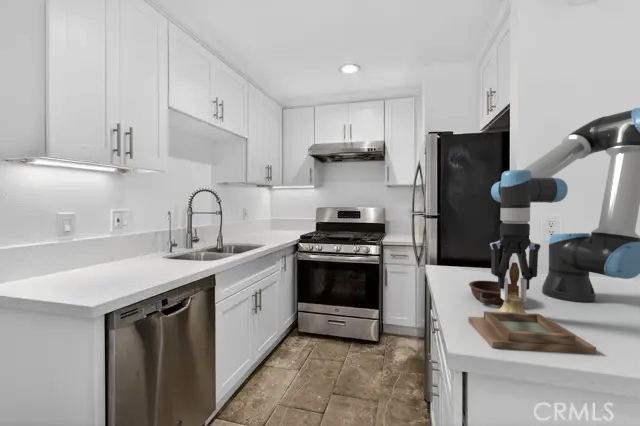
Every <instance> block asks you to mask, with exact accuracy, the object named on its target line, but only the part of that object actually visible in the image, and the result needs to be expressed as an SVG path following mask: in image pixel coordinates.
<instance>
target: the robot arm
mask: <svg viewBox="0 0 640 426" xmlns="http://www.w3.org/2000/svg"><path fill="white" fill-rule="evenodd" d="M604 151H605V153H606V154H607V155H609V156H610V160H609V164H608V171H607V178H606V183H605V188H604V193H603V199H602V204H601V211H600V216H599V222H598V227H597V228H594V230H592V231H591V233H589V232H588V233H587V232H586V233H585V232H578V233H576V232H575V233H574V232H573V233H554V234H552V235H550V237H549V242H548V270H547V271H548V273H547V276H546V277H545V280H544V282H543V284H542V289H541V290H542V294H544V295H545V296H548V297H551V298H554V299H558V300H562V301H567V302H568V301H570V302H576V303H577V302H579V303H589V302H590V303H592V302H594V301H596V292H595V290H594V287H593V285H592V282H591V280H590V279H591V278H590V273H592V274H597V275H602V276H606V277H609V278H612V279H613V278H614V279H615V278H618V279H624V280H630V279H633V278H636V277H638V276H639V275H640V235H639V234H638V233H637V232H636V227H637V223H638V222H637V221H638V216H639V210H640V107H636V108H633V109H629V110H626V111H623V112H619V113H614V114H610V115H606V116H605V115H604V116H601V117H598V118H596V119H593V120H592V121H590V122H587V123H585V124H584V125H582V126H580V127H579V128H577V129H576V130H575V131H574V130H573V132H571V133H570V134H568V135H566V136H565V137H564V138H563V139H562V141H561V143H560V144H558V145H557V146H555V147H554V148H553V149H551V150H550V151H548V152H547V153H546V154H544V155H542V156H541V157H540V158H538V159H536V160H534V161H533V162H532V163H531V164H529V165H528V166H526V167H525V168H523V169H515V170H514V169H513V170H506V171H504V172H503V171H502V173H501V180H500V181H497V182H495V183H493V185H492V186H491V190H490V194H491V198H492V199H493V200H494V201H496V202H498V203H500V219H499V220H500V221H501V222H500V224H499V233H500V234H499V236H500V237H499V239H498V241H495V242H489V248H490V250H491V251H490V253H491V254H490V255H491V256H490V258H491V260H490V261H491V262H490V265H491V266H490V267H491V268H490V269H491V271H490V272H491V274H492V275H493V276H495V277H497V282H498V287H499V288H500V289H501V298H502V299H503V300H505V301H508V283H509V279H508V278H507V277H506V276H507V272H508V268H509V264H510V261H511V258H512V256H513V254H515V255H516V256H517V258H518V263H519V270H520V272H521V276H519V279H518V286H519V297H520V298H521V299H522V302H527V290H530V281H532V279H533V278H537V276H538V264H539V262H538V261H539V251H540V249H541V244H539V243H534V242H532V241H531V239H530V235H531V233H530V232H531V231H530V229H531V224H530V223H529V222H530V221H531V203H549V204H550V203H558V202H561V201H563V200H564V199H565V198H566V197H567V195H568V189H569V188H568V184H567V182H566V181H565V180H563V179H562V178H559V177H558V178H557V177H556V178H555V177H554V176H555V175H556V174H558V173H559V172H561V171H562V170H563V169H566V167H568V166H570V165H571V164H573V163H574V162H575V161H577V160H580V159H581V160H582V159H584V158H586V157H588V156H589V155H592V154H595V153H598V152H604ZM500 247H501V248H502V253H501V254H502V255H501V260H500V250H499V249H500ZM528 248H529V252H528V259H527V251H526V250H527V249H528Z"/></svg>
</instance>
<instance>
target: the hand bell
mask: <svg viewBox="0 0 640 426" xmlns="http://www.w3.org/2000/svg"><path fill="white" fill-rule="evenodd" d="M509 268H510V269H509V271H508V272H509V273H508V274H509V281H510V284H511V290H510V295H508V301H505V300H504V303H503V305H501V307H500V308H499V309H497V311H496V312H510V313H527V312H526V310H525V309H524V306H523V305H524V304H523V301H522V299H521V298H520V297H518V296H517V286H518V283H519V277H520V267H519V266H518V262H512V263H511V265H510V267H509Z"/></svg>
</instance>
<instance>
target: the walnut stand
mask: <svg viewBox="0 0 640 426" xmlns="http://www.w3.org/2000/svg"><path fill="white" fill-rule="evenodd" d="M467 320H468V323H469V325H471V327H472V328H473V329H474V330H475V331H476V332H477V333H478V334H479V335H480V336H481V337H482V338H483V339H484V341H485V342H486V343H487V344H488V345H489V347H491V348H492V349H502V350H503V349H506V350H519V351H520V350H523V351H524V350H525V351H539V352H556V353H570V354H571V353H572V354H587V353H588V354H589V355H596V354H597V347H596V346H594V345H593V344H591V343H590V342H588V341H586V340H585V339H583V338H581V337H580V336H578V335H577V334H575V333H574V332H571V330H568V329H566V328H565V327H564V326H561V325H560V324H558V323H557V322H555V321H553V320H550V319H549V318H547V317H546V316H544V315H542V314H541V313H530V312H526V313H510V312H497V311H486V310H485V311H483V316H468V319H467Z"/></svg>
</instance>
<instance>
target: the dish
mask: <svg viewBox="0 0 640 426" xmlns="http://www.w3.org/2000/svg"><path fill="white" fill-rule="evenodd" d="M468 286H469V287H470V289H471V293H472V296H473V297H474V298H475V299H476V300H478V301H480V302H481V304H484V305H494V306H495V305H496V306H502V305H503V303H504V300H503V299H502V298H501V289H500V288H499V287H498V281H495V280H473V281H470V282H469V283H468ZM510 290H511V283H509V282H508V295H510ZM517 296H518V297H519V285H517Z"/></svg>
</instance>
